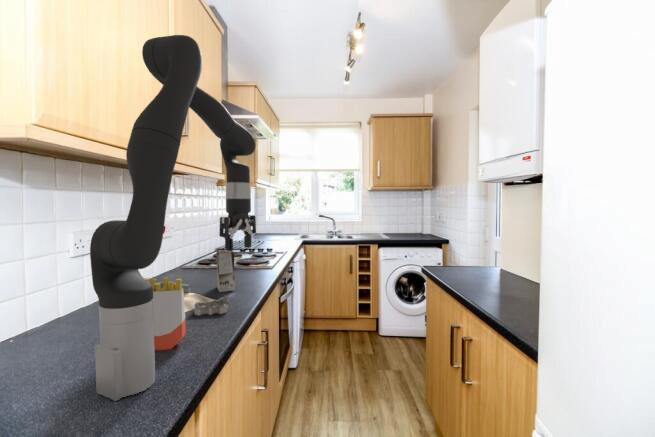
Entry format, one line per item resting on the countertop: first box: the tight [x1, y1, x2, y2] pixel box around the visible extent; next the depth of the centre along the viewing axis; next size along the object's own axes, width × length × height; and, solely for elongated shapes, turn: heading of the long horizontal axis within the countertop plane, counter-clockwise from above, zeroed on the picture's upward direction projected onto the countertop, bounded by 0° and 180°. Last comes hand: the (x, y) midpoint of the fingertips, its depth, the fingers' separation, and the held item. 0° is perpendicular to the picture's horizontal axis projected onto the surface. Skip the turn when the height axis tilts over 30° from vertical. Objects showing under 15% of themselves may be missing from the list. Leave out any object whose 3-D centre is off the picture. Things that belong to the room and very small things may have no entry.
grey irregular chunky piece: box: [193, 296, 229, 316], centre depth 110 cm, size 11×8×4 cm
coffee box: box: [216, 249, 236, 293], centre depth 138 cm, size 9×6×16 cm
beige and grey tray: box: [159, 280, 215, 313], centre depth 119 cm, size 20×28×5 cm
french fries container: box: [143, 277, 186, 351], centre depth 83 cm, size 5×11×18 cm, turn 102°
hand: (238, 249), depth 103 cm, fingers open, 8 cm apart
